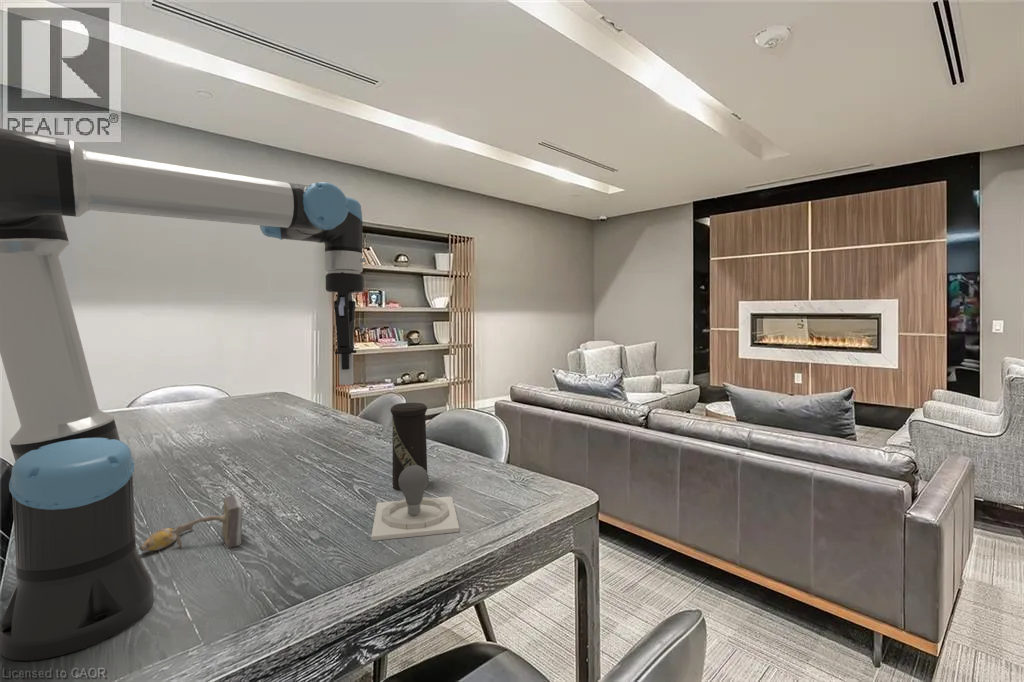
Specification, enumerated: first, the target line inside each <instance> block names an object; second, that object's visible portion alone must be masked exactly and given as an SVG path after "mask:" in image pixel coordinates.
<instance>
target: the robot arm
mask: <svg viewBox="0 0 1024 682" xmlns="http://www.w3.org/2000/svg"><path fill="white" fill-rule="evenodd" d="M89 211H97V212H106V213H107V212H108V213H119V214H127V215H128V214H131V215H141V216H142V215H143V216H152V217H164V218H174V219H185V220H196V221H197V220H198V221H207V222H208V221H209V222H219V223H227V224H228V223H230V224H231V223H232V224H239V225H251V226H259V228H260V231H261V233H262V234H263V236H265V237H266V238H267V237H268V238H275V239H279V240H281V241H282V240H288V241H289V240H292V241H301V242H302V241H303V242H313V243H319V244H322V243H323V244H324V271H325V272H327V273H326V275H325V290H326V292H328V293H336V300H334V301H333V310H334V315H335V327H336V331H335V332H336V341H337V342H336V344H337V345H336V350H337V351H334V354H335V355H338V375H339V376H338V377H339V378H338V379H339V381H338V383H339V386H348V385H350V386H351V385H354V384H355V383H354V379H355V378H354V354H357V350H356V349H355V343H354V342H355V340H354V339H355V320H356V319H355V318H356V317H355V316H356V313H355V311H356V307H357V305H356V301H355V300H353V294H355V293H356V294H357V293H358V294H359V293H363V291H364V276H363V275H362V272H363V270H364V269H363V268H364V266H363V263H366V262H367V260H366V258H365V257H363V224H364V222H363V211H362V205H361V203H360V201H358V200H356V199H355V198H350V197H348V196H347V197H346V195H345V193H344V192H343V191H342V190H341V188H339V187H338V186H337V185H335V184H333V183H330V182H326V181H325V182H324V181H320V182H313V183H311V184H309V185H307V184H300V183H294V182H293V183H292V182H286V181H278V180H273V179H266V178H260V177H254V176H248V175H247V176H246V175H241V174H235V173H228V172H223V171H217V170H211V169H203V168H198V167H190V166H183V165H177V164H172V163H166V162H159V161H152V160H146V159H140V158H134V157H127V156H122V155H113V154H107V153H103V152H102V153H101V152H95V151H89V150H86V149H84V148H82V147H81V146H80V145H79V144H78V143H76V142H75V141H74V140H71V139H68V138H67V139H65V138H60V137H55V136H48V135H43V134H36V133H31V132H25V131H20V130H19V131H18V130H14V129H7V128H0V357H1V362H2V364H3V369H4V371H5V375H6V379H7V382H8V385H9V389H10V391H11V392H10V394H11V396H12V398H13V399H12V400H13V402H14V406H15V407H14V408H15V410H16V412H17V417H18V420H19V423H20V427H19V429H18V430H17V431H16V433H14V435H13V436H12V437H11V438H10V440H9V445H10V447H11V452H12V455H13V457H14V458H13V459H14V461H15V462H14V464H13V465H12V468H11V476H10V479H9V483H8V488H9V493H11V494H10V495H11V496H12V499H11V500H12V514H13V515H12V516H13V517H12V519H13V532H14V535H13V536H14V537H13V538H14V551H15V552H14V553H15V554H14V555H15V570H16V571H15V572H16V573H15V574H16V581H15V585H14V588H13V591H12V594H11V596H10V598H9V602H8V604H7V606H6V609H5V612H4V615H3V618H2V620H1V623H0V655H1V656H2V657H3V658H5V659H8V660H11V661H22V662H23V661H26V662H27V661H38V660H45V659H51V658H54V657H59V656H62V655H63V656H65V655H67V654H71V653H73V652H74V653H75V652H76V651H77V652H78V651H80V650H83V649H85V648H88V647H90V646H94V645H95V644H98V643H100V642H102V641H105V640H107V639H109V638H111V637H113V636H115V635H117V634H119V633H121V632H122V631H124V630H126V629H127V628H130V627H131V626H132V625H133V624H135V623H136V622H138V621H139V620H140V619H141V618H142V617H144V616H145V614H147V613H148V612H149V611H150V609H151V608H152V606H153V604H154V601H155V596H154V584H153V581H152V578H151V577H150V574H149V573H148V570H147V569H146V567H145V565H144V563H143V561H142V559H141V557H140V554H139V553H138V551H137V548H136V547H137V546H136V542H137V541H136V522H135V521H136V520H135V519H136V517H135V496H134V494H135V493H134V471H135V461H134V458H133V456H132V455H133V454H132V451H131V448H130V447H129V445H128V444H127V443H125V442H123V441H122V440H120V436H119V431H118V427H117V424H116V421H115V416H113V415H112V414H110V413H108V412H105V411H103V410H101V409H100V408H99V406H98V401H97V396H96V393H95V389H94V385H93V383H92V378H91V375H90V371H89V366H88V363H87V359H86V355H85V351H84V348H83V344H82V341H81V337H80V333H79V329H78V324H77V320H76V318H75V314H74V310H73V305H72V301H71V297H70V295H69V290H68V287H67V282H66V279H65V275H64V271H63V268H62V265H61V260H60V255H61V254H62V252H63V251H64V250H65V249H66V248H67V247H68V246H69V245H70V242H69V238H68V235H67V230H66V226H65V223H64V217H65V216H66V217H77V218H79V217H81V216H83V215H84V214H85V213H87V212H89Z"/></svg>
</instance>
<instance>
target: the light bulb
mask: <svg viewBox="0 0 1024 682" xmlns="http://www.w3.org/2000/svg"><path fill="white" fill-rule="evenodd" d="M429 481H430V478H429V474H428V471H427V472H426V470H425V469H424V468H422V467H421V466H418V465H411V466H408V467H406V468H405V469H404V470H403V471H402V472H401V474H400V476H399V479H398V482H399V487H400V489H401V490H400V491H401V492H402V494H403V496H404V499H406V502H407V506H408V514H410V515H413V516H414V515H417V514H419V513H420V512H421V511H420V505H421V504H420V503H421V501H422V497H424V496H423V495H424V493H425V491H426V490H427V488H428V486H429Z"/></svg>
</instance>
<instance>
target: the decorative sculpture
mask: <svg viewBox="0 0 1024 682" xmlns="http://www.w3.org/2000/svg"><path fill="white" fill-rule="evenodd" d="M242 503H244V500H241V498H240V497H239V496H237V495H227V496H225V498H224V499H223V511H222V512H223V513H222V515H210V516H203V517H199V518H197V519H195V520H191V521H189V522H186V523H184V524H183V523H182V524H179V525H178V526H177V527H176V528H173V527H165V528H161V529H158V530H156V531H154V532H152V533H151V534H150V535H149V537H148V539H146V540H145V541H144V542H143V543H142V544H141V545H139V547H138V549H139V551H141V552H144V551H147V552H148V551H153V552H156V551H160V550H162V549H164V548H167V547H168V546H171V545H172V544H173V543H174V542H176V544H177V545H178V547H179V548H182V547H183V543H182V541H181V534H183V533H185V532H187V531H190V532H192V530H193V527H194V525H197V524H198V523H209V522H211V521H219V522H220V523H222V524H221V528H222V529H221V533H222V538H223V540H224V543H225V547H226V548H229V549H230V548H231V549H232V548H234V547H237V546H240V545H241V544H242V541H243V540H242V529H243V528H242V527H243V523H242V522H243V504H242Z"/></svg>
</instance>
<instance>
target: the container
mask: <svg viewBox="0 0 1024 682" xmlns="http://www.w3.org/2000/svg"><path fill="white" fill-rule="evenodd" d="M427 411H428V406H427V405H426V404H425V403H422V402H402V403H397V404H394V405H393V406H391V408H390V413H391V416H392V417H391V420H392V423H391V424H392V425H391V426H392V432H391V433H392V467H391V468H392V476H391V477H392V487H393V489H395V490H398V491H401V489H400V487H399V482H398V479H399V476H400V474H401V472H402V471H403V470H404V469H405V468H406V467H408V466H411V465H418V466H421V467H422V468H424V469H425V470H426V472H427V473H428V458H427V455H428V454H427V451H428V450H427V449H428V447H427V430H426V429H427V427H426V426H427V425H426V423H427V419H426V413H427Z"/></svg>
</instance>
